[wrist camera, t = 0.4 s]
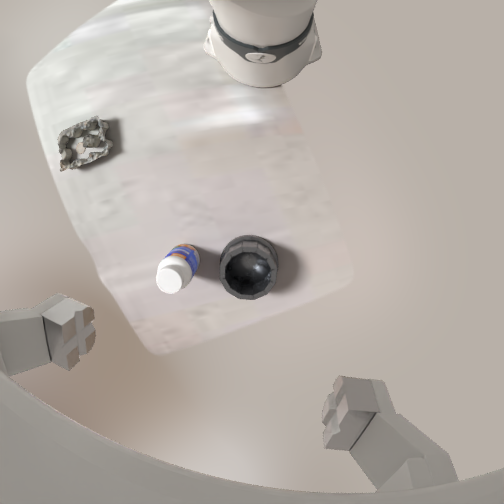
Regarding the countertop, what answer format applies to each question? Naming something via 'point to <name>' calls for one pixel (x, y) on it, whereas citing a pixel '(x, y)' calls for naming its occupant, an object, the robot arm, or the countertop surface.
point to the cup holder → (248, 267)
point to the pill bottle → (177, 268)
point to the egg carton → (88, 142)
